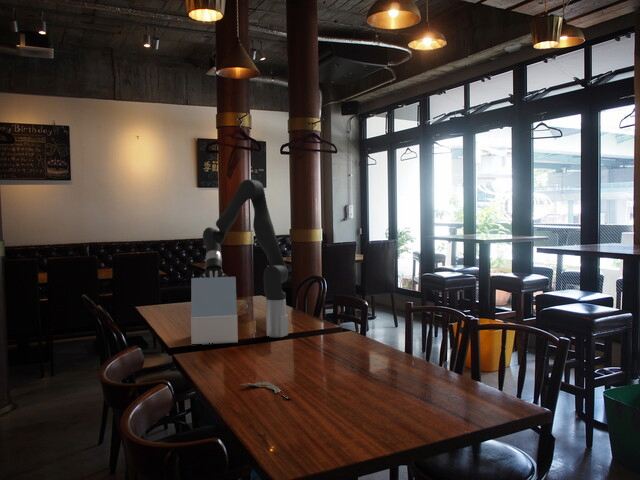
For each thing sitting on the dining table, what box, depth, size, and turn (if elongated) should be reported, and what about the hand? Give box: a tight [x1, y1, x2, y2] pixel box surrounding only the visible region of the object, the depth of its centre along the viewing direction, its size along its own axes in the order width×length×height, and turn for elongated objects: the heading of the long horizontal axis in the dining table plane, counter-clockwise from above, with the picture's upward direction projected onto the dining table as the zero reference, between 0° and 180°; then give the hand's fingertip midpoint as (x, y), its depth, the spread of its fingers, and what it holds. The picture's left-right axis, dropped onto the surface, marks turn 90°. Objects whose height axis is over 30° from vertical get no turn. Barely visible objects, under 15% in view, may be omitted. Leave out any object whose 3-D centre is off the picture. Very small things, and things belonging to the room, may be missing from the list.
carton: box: [190, 315, 239, 345], centre depth 230 cm, size 18×20×12 cm
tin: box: [236, 299, 250, 317], centre depth 286 cm, size 15×3×8 cm, turn 143°
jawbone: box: [239, 381, 289, 399], centre depth 161 cm, size 9×20×2 cm, turn 56°
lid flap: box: [190, 276, 237, 318], centre depth 224 cm, size 18×20×1 cm
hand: (213, 292), depth 226 cm, fingers closed
